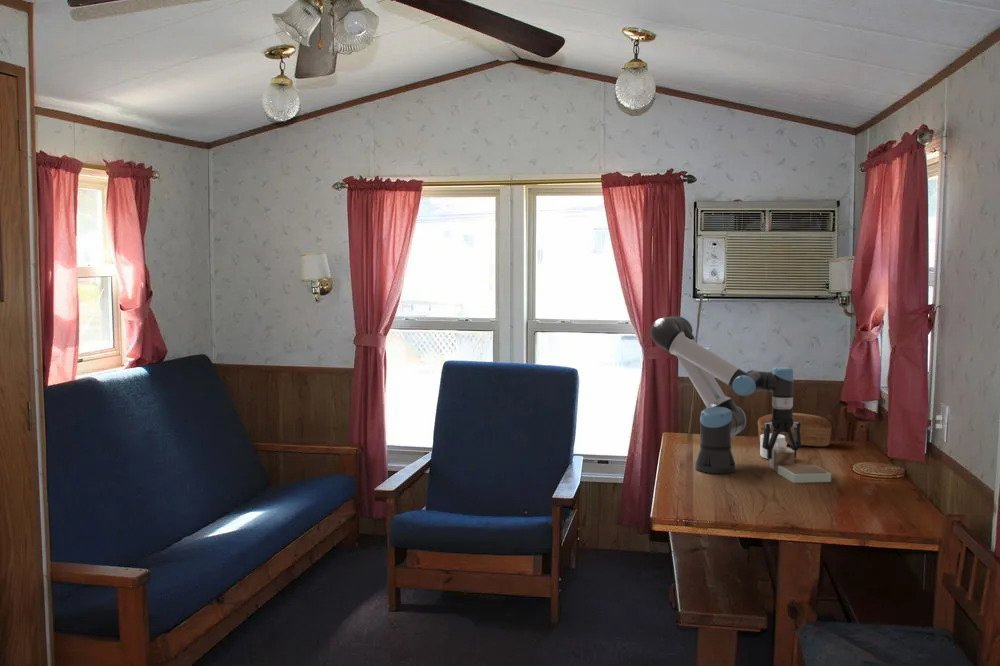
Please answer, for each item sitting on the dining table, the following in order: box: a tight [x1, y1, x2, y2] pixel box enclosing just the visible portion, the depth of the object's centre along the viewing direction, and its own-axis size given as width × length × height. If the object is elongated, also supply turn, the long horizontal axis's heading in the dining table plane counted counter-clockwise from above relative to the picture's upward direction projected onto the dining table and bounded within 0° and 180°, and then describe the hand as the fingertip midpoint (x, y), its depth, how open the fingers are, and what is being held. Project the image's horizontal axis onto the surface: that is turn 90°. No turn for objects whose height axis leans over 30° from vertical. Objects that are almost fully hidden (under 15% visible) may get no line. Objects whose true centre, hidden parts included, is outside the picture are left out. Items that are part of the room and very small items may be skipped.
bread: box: [757, 412, 833, 447], centre depth 374 cm, size 12×31×14 cm, turn 71°
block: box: [768, 446, 795, 473], centre depth 327 cm, size 7×7×8 cm
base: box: [777, 464, 832, 484], centre depth 314 cm, size 14×14×3 cm
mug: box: [759, 434, 788, 460], centre depth 346 cm, size 12×10×9 cm
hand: (781, 466), depth 327 cm, fingers closed on block, 7 cm apart
